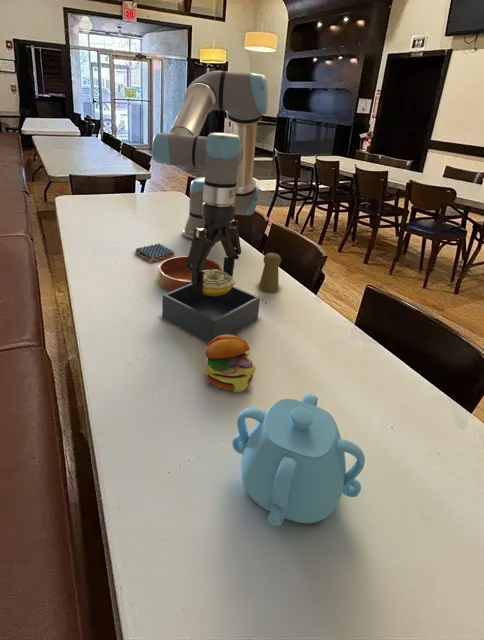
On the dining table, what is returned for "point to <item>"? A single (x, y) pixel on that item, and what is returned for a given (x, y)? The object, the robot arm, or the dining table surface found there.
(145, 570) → the dining table surface
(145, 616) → the dining table surface
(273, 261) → the brown pawn
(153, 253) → the woven mat
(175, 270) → the bowl
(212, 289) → the decorated donut
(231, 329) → the bin
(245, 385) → the cheeseburger
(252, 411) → the decorative pot
